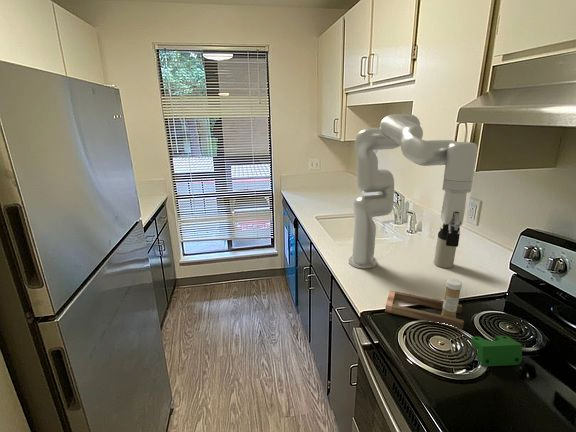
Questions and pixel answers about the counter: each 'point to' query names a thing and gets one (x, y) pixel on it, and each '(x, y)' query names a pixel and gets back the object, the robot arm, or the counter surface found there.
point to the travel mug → (444, 252)
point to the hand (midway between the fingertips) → (449, 240)
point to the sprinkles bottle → (451, 297)
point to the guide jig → (417, 313)
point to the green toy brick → (498, 351)
